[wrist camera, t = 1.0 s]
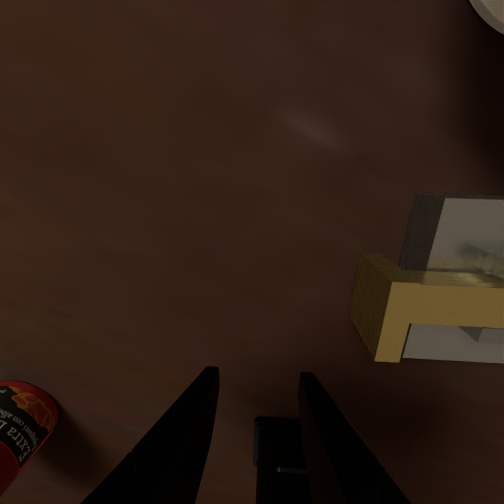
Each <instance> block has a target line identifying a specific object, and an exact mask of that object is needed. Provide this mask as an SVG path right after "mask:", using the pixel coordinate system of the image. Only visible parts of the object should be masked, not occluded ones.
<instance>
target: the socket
mask: <svg viewBox="0 0 504 504" xmlns="http://www.w3.org/2000/svg"><path fill="white" fill-rule="evenodd" d="M399 268H401V269H402V270H411V271H435V272H459V273H483V274H495V275H497V276H499V277H501V278H503V279H504V195H478V194H441V193H415V197H414V201H413V206H412V210H411V214H410V219H409V223H408V228H407V232H406V236H405V241H404V245H403V250H402V254H401V258H400V263H399ZM401 356H402V357H403V358H418V359H436V360H453V361H470V362H487V363H504V328H489V327H469V326H450V325H431V324H411V323H409V327H408V331H407V334H406V338H405V342H404V346H403V349H402V353H401Z"/></svg>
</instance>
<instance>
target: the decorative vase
mask: <svg viewBox="0 0 504 504" xmlns="http://www.w3.org/2000/svg"><path fill="white" fill-rule="evenodd" d="M469 1H470V3H471V4H472V6H473V7H474V9H475V10H476V12H477V13H478V14H479V15H480V16H481V18H482V19H483V20H484V21H485V22H486V23H488V24H489V25H490V26H491V27H492V28H494V29H495V30H497V31H498V32H500V33H502V34H504V0H469Z"/></svg>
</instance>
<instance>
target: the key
mask: <svg viewBox="0 0 504 504" xmlns="http://www.w3.org/2000/svg"><path fill="white" fill-rule="evenodd" d="M350 317H351V319H352V321H353V323H354V324H355V326H356V328H357V330H358V332H359V334H360V335H361V337H362V339H363V341H364V343H365V345H366V346H367V348H368V350H369V352H370V354H371V355H372V357H373V359H374V361H381V362H398V363H399V361H400V357H401V353H402V349H403V346H404V342H405V338H406V334H407V331H408V327H409V323H411V324H431V325H450V326H469V327H489V328H504V279H503V278H501V277H499V276H497V275H495V274H483V273H459V272H435V271H411V270H402V269H401V268H399V267H398V266H397V265H396V264H394V263H393V262H392V261H390V260H389V259H388V258H386V257H385V256H384V255H383V254H378V253H361V255H360V261H359V267H358V273H357V279H356V285H355V290H354V296H353V302H352V308H351V314H350Z"/></svg>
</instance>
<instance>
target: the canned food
mask: <svg viewBox="0 0 504 504" xmlns="http://www.w3.org/2000/svg"><path fill="white" fill-rule="evenodd" d="M58 416H59V415H58V410H57V407H56V405H55V403H54V401H53V400H52V399H51V398H50V397H49V396H48V395H47V394H46V393H45V392H44V391H42V390H41V389H39V388H37V387H35V386H33V385H31V384H28V383H24V382H19V381H4V382H0V497H1V496H2V494H3V493H4V492H5V491H6V489H7V488H8V487H9V486H10V484H11V483H12V482H13V481H14V479H15V478H16V477H17V476H18V474H19V473H20V472H21V471H22V469H23V468H24V467H25V466H26V464H27V463H28V462H29V461H30V459H31V458H32V457H33V456H34V454H35V453H36V452H37V451H38V449H39V448H40V447H41V446H42V445H43V443H44V442H45V441H46V440H47V438H48V437H49V436H50V435H51V433H52V431H53V429H54V427H55V425H56V423H57V421H58Z"/></svg>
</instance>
